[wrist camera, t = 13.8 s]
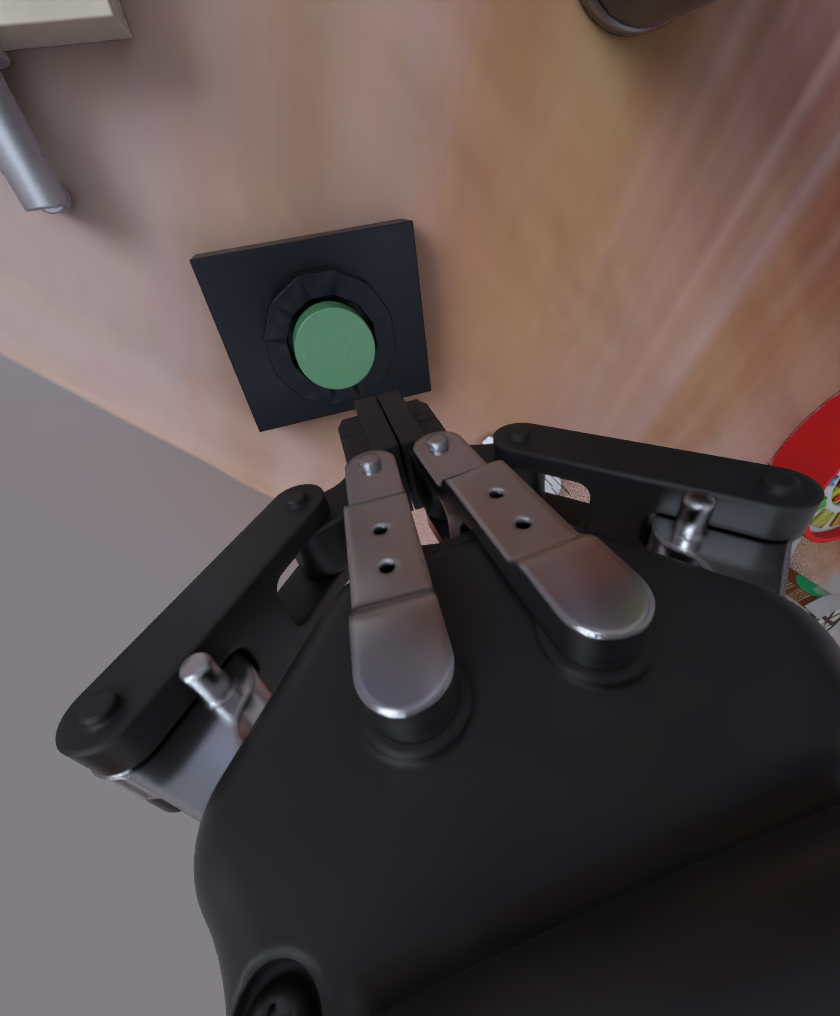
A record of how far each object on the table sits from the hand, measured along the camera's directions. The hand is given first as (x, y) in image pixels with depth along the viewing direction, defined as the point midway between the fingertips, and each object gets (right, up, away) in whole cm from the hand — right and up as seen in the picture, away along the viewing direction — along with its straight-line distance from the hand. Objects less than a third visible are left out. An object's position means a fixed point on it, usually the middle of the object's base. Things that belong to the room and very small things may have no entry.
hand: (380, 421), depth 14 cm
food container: (+58, -13, +53) cm, 80 cm away
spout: (-16, +14, +5) cm, 22 cm away
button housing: (-5, +9, +13) cm, 16 cm away
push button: (-4, +7, +10) cm, 13 cm away
